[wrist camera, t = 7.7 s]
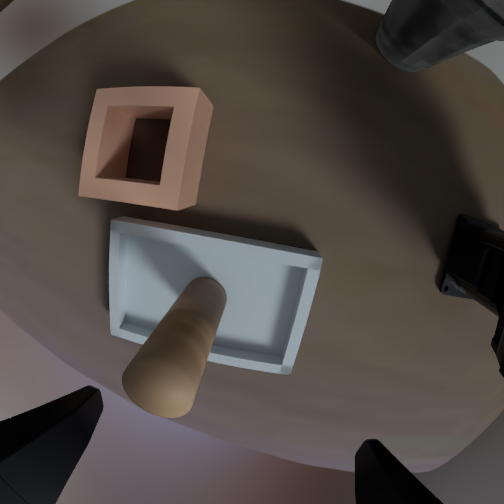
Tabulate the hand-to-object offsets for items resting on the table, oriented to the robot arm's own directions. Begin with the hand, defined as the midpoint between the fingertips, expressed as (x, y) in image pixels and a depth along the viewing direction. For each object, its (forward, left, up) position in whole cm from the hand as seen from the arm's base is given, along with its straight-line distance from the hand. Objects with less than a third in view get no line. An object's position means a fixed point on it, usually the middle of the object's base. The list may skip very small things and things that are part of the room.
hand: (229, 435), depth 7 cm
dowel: (+3, +1, -12) cm, 12 cm away
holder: (+8, -9, -13) cm, 17 cm away
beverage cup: (-8, -21, -13) cm, 25 cm away
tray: (+3, +1, -13) cm, 13 cm away
